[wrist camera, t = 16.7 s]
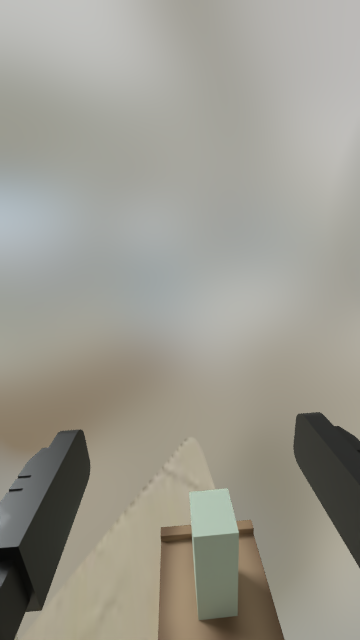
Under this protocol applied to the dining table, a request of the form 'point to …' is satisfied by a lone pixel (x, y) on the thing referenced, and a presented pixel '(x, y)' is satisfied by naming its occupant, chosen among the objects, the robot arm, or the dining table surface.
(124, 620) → the dining table surface
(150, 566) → the dining table surface
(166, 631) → the plinth
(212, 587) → the pillar
